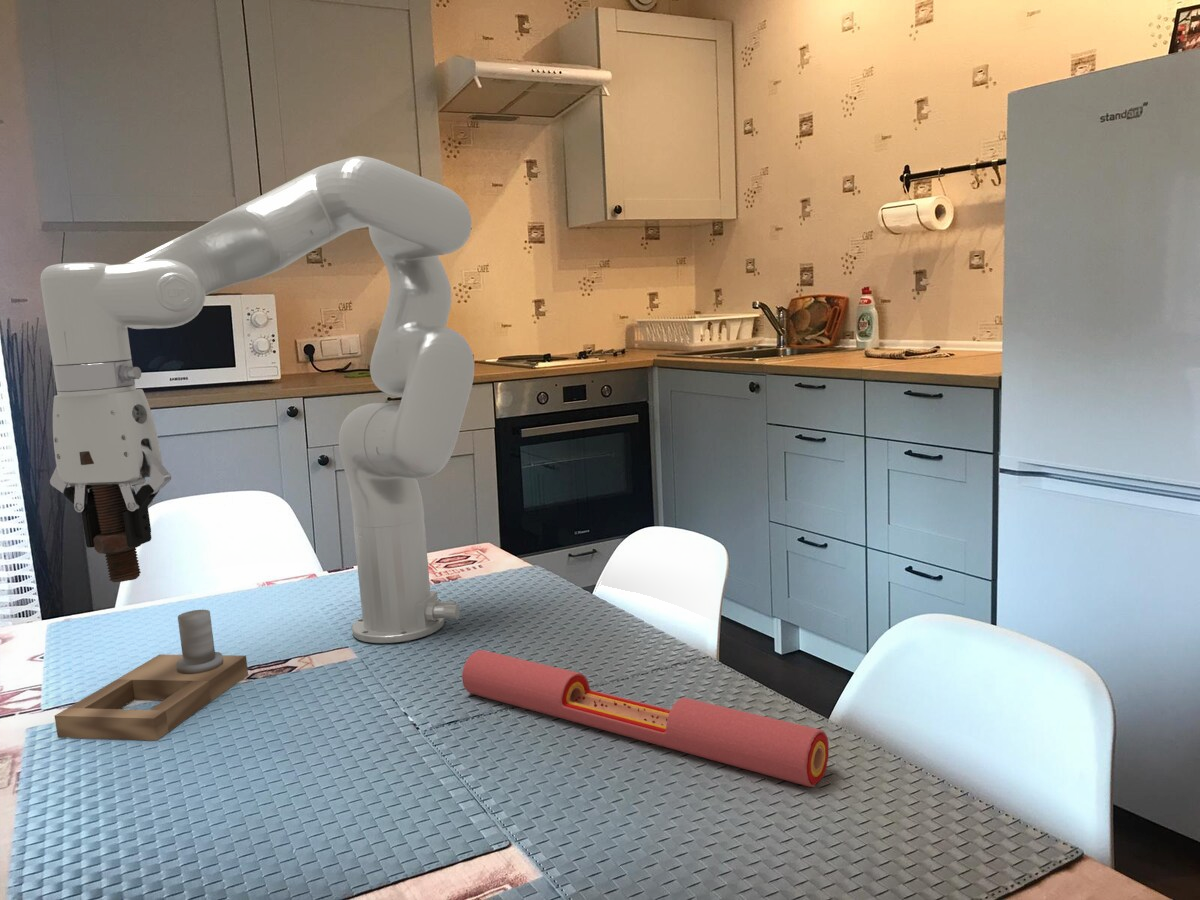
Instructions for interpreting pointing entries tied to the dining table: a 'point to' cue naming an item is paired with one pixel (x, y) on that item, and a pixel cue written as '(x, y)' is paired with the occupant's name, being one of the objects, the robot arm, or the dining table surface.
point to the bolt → (113, 530)
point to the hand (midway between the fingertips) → (119, 542)
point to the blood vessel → (655, 718)
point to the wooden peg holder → (158, 689)
